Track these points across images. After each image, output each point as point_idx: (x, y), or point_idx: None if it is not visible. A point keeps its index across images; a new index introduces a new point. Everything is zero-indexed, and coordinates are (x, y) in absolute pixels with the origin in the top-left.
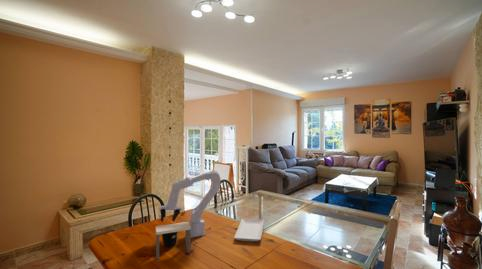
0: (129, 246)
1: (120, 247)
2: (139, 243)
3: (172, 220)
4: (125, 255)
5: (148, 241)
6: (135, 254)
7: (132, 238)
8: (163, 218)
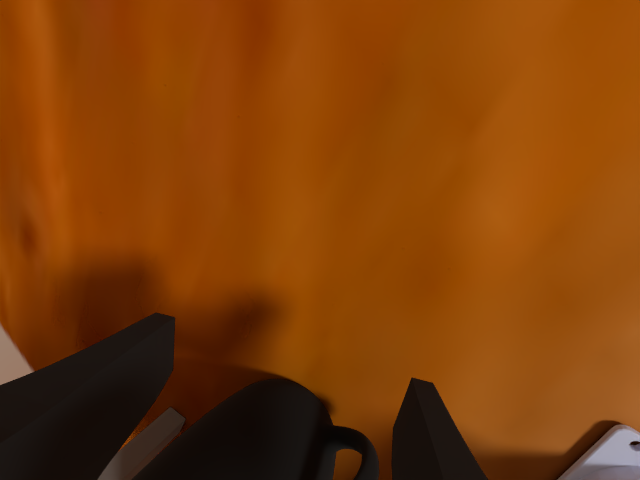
0: (70, 160)
1: (25, 120)
2: (132, 175)
3: (406, 395)
4: (34, 267)
5: (194, 204)
6: (76, 310)
7: (115, 8)
8: (128, 434)
